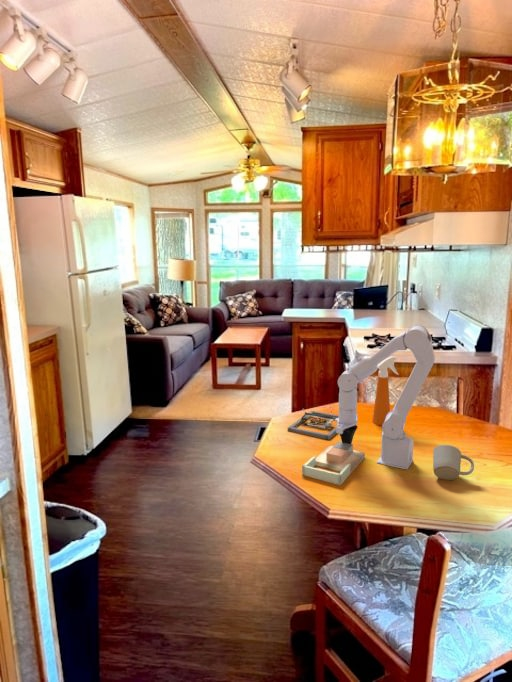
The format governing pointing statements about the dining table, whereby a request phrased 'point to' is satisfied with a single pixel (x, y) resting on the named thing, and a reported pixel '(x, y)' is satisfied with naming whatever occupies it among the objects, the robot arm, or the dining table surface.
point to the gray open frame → (316, 434)
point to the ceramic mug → (449, 462)
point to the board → (352, 460)
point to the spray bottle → (383, 391)
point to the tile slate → (344, 447)
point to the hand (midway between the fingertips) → (346, 447)
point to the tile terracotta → (336, 455)
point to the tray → (324, 472)
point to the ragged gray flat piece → (325, 423)
